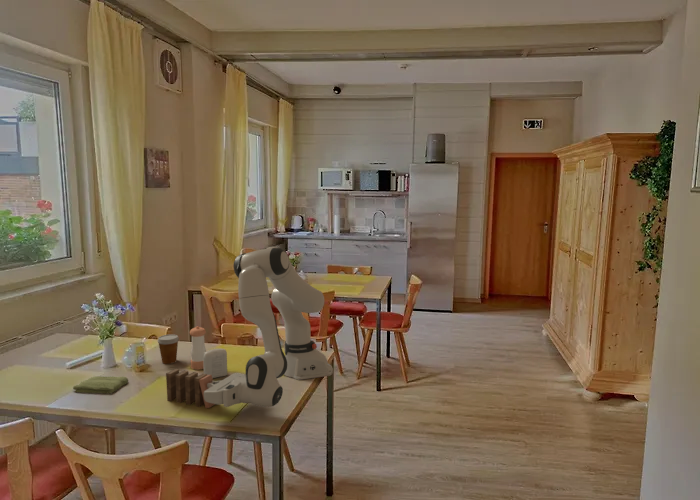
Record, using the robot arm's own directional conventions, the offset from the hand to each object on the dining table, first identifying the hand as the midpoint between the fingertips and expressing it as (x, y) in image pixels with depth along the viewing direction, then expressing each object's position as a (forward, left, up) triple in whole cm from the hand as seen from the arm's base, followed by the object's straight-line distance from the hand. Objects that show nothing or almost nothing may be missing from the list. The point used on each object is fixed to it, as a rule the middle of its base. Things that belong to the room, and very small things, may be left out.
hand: (209, 384), depth 186 cm
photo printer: (+1, -29, -9) cm, 30 cm away
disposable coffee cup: (+25, -51, -9) cm, 58 cm away
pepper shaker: (+10, -42, -9) cm, 44 cm away
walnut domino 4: (+3, -2, -9) cm, 9 cm away
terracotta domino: (-1, 0, -8) cm, 8 cm away
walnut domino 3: (+7, -4, -9) cm, 12 cm away
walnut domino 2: (+11, -6, -9) cm, 15 cm away
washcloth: (+47, -24, -9) cm, 54 cm away
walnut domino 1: (+15, -9, -9) cm, 19 cm away
